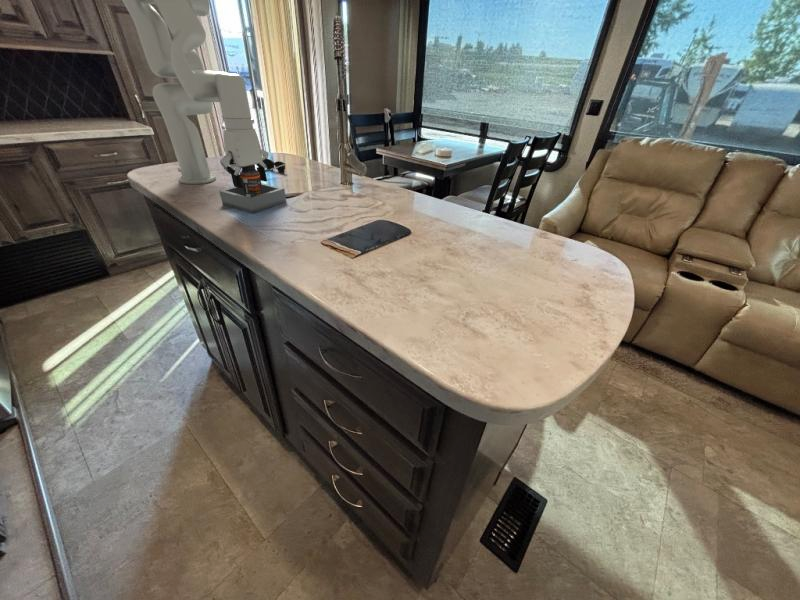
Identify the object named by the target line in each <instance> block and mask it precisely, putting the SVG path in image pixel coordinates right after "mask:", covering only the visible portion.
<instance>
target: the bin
mask: <svg viewBox="0 0 800 600" xmlns="http://www.w3.org/2000/svg"><path fill="white" fill-rule="evenodd" d="M261 184H262V190H263V194H260V195H257V196H254V197H247V196H244V193H243V188H237V187H235V186H232V187H228V188H225V189H220V190H218V192H219V195H220V199H221V203H222V205H223V206H226V207H228V208H229V207H230V208H233V209H236V210H240V211H243V212H248V213H249V214H257V213H259V212H262V211H265V210H268V209H270V207H271V208H272V207H276V206H279V205H281V203H282V204H285V203H287V198H286V192H285V188H284V187H280V186H275V185H271V184H267V183H263V182H261ZM278 204H279V205H278ZM275 205H276V206H275Z"/></svg>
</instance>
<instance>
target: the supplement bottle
mask: <svg viewBox="0 0 800 600" xmlns="http://www.w3.org/2000/svg"><path fill="white" fill-rule="evenodd" d="M239 175H240V176H241V181H242V185H243V193H244V196H247V197H254V196H257V195H260V194H263V190H262V184H261V183H262V181H261V179H260V174H259V172H258V171H257V168H256V164H255V165H250V166H246V167H242V168H241V170H240V172H239Z"/></svg>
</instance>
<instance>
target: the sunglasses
mask: <svg viewBox="0 0 800 600" xmlns="http://www.w3.org/2000/svg"><path fill="white" fill-rule="evenodd" d="M286 164H287V163H285V162H283V161H275V162H274V161H273V160H271V159H269V158H268V162H267V164H266V169H265V172H269V171H273V170H274V169H276V171H278V173H281V172H282V173H281V174H285V172H286V171H285V170H286ZM268 169H269V170H268ZM241 171H242V167H241V168H240V170H239V173H238V175H240V172H241Z"/></svg>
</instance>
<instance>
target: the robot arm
mask: <svg viewBox="0 0 800 600" xmlns="http://www.w3.org/2000/svg"><path fill="white" fill-rule="evenodd" d="M121 1H122V3H123V5H124V6H125V8H126V10H127V11H128V13H129V14H130V17H131V20H133V23H134V26H135V28H136V32H137V35H138V37H139V41H140V44H141V47H142V49H143V52H144V56H145V58H146V59H145V60H146V61H147V65H148V67H149V70H151V72H152V73H153V74H154V75H156V76H157V77H160V78H165V79H166V78H168V79H178V81H179V82H163V83H158V84H156V85H155V86H154V87H153V88H152V97H153V100H154V102H155V103H156V107H157V108H158V110H159V112H160V115H161V116H162V118H163V121H164V123H165V126H166V129H167V133H168V135H169V138H170V142H171V145H172V148H173V151H174V155H175V158H176V160H177V163H178V167H177V171H178V172H180V174H181V176H179V177H178V181H179V183H181V184H186V185H187V184H188V185H199V184H200V185H201V184H207V183H211V182H214V181H215V180H216V179H217V177H216V175H215V173H214V174H213V173H211V171H210V168H209V165H208V161H207V157H206V154H205V149H204V146H203V143H202V139H201V135H200V132H199V129H198V128H197V126H196V125H195V123H194V122H193V121H192V120H190V119H189V117H188V116H194V115H207V114H210V113H211V112H212V109H213V103H219V105H220V109H221V110H220V111H221V113H222V118H223V123H224V126H225V129H223V145H224V146H223V147H224V152H225V155H224V156H223V157H222V158H221V159H220V160H219V164H220V165H221V167H223V169H224V170H225V171H226V172H227V173H228V174H229V175H230V176H231V179H232V184H233V187H237V188H243V185H242V181H241V176H240V172H239V170H240V168H241V167H246V166H250V165H255V166H257V167H256V170H257V171H258V172H259V174H260V179H261V182H268V179H267V173H266V172H265V171H266V169H267V167H266V164H267V162H268V159H269V155H270V154H269V152H268V151H266V150H264V149H262V148H261V143H260V140H259V137H258V134H257V131H256V129H255V128H254V124H255V120H254V119H253V118H252V113H251V109H250V102H249V97H248V92H247V88H246V82H245V79H244V77H243V76H242V75H240V74H238V73H232V72H231V73H230V72H226V71H221V70H220V71H214V70H205V69H204V65H203V62H202V59H201V57H200V55H199V54H198V52H197V51H196V49H198V48H199V47H200V46H203V44H204V43H205V42H206V37H207V33H206V30H205V28H204V27H203V24H202V22H201V20H200V19H199V17H206V16H207V15H208V14H209V12H210V8H211V7H210V1H209V0H121ZM151 4H152V5H151ZM153 5H156V6H157V9H158V11H159V12H158V11H157V9H155V8H154V7H153ZM171 35H172V37H173V39H172V38H171ZM241 169H242V168H241ZM240 171H241V170H240ZM238 173H239V175H238Z"/></svg>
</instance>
